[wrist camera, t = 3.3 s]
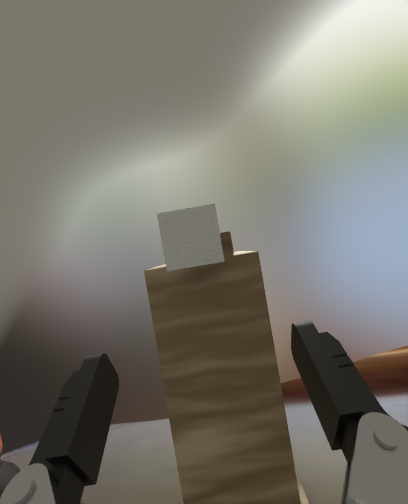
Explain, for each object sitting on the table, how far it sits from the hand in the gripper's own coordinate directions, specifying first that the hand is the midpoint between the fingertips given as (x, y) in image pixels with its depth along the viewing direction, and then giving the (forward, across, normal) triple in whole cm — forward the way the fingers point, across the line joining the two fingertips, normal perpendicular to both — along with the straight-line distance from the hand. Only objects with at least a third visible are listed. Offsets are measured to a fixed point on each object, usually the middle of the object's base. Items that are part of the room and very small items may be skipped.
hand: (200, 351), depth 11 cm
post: (+5, 0, +36) cm, 36 cm away
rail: (+18, 0, +7) cm, 20 cm away
